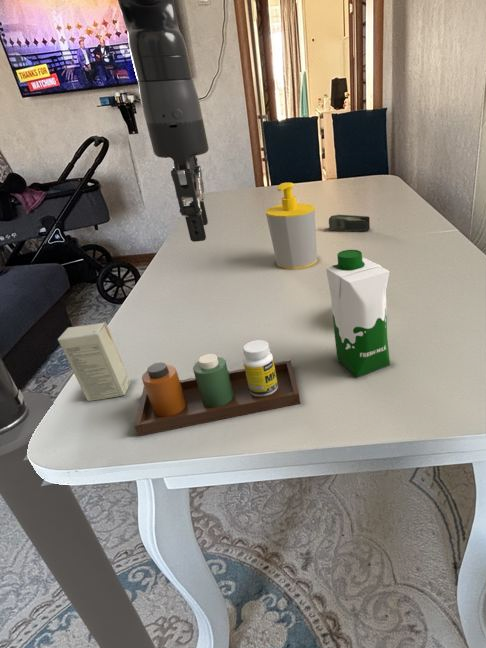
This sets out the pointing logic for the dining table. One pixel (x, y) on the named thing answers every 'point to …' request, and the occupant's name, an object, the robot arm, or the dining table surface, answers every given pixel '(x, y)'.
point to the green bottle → (213, 380)
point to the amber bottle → (164, 389)
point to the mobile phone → (349, 223)
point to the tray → (236, 407)
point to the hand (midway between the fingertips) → (200, 232)
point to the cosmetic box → (95, 361)
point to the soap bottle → (292, 231)
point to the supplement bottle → (259, 368)
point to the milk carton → (359, 312)
